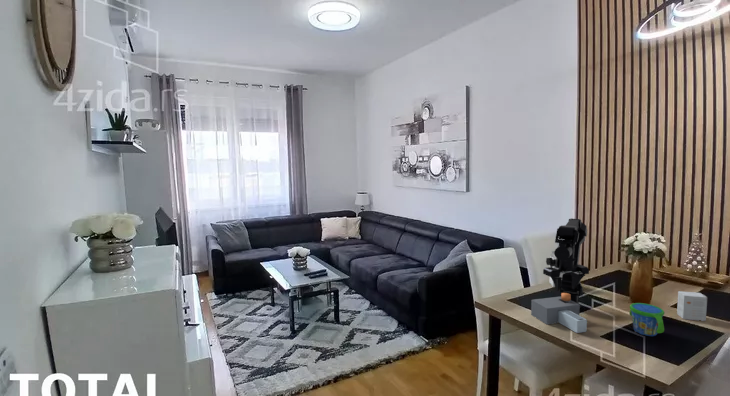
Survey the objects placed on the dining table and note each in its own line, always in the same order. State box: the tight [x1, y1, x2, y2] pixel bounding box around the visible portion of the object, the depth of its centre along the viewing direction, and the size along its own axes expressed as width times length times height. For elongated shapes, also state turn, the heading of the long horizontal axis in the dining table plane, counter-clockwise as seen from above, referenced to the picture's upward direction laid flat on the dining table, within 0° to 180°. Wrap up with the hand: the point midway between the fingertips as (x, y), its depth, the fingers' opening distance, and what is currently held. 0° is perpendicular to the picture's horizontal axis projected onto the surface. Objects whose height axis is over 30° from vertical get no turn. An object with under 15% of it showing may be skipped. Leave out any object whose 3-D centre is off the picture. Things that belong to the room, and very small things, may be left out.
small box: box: [676, 290, 708, 322], centre depth 156 cm, size 8×6×10 cm
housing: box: [530, 295, 581, 325], centre depth 159 cm, size 16×10×7 cm, turn 102°
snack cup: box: [629, 302, 665, 337], centre depth 144 cm, size 16×10×10 cm
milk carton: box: [548, 250, 565, 288], centre depth 199 cm, size 7×7×19 cm
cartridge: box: [558, 309, 588, 334], centre depth 154 cm, size 4×19×5 cm, turn 12°
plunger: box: [560, 293, 571, 302], centre depth 160 cm, size 4×4×3 cm
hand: (565, 289), depth 160 cm, fingers open, 8 cm apart
